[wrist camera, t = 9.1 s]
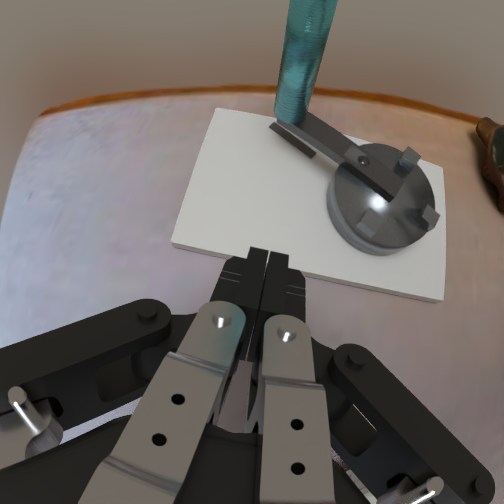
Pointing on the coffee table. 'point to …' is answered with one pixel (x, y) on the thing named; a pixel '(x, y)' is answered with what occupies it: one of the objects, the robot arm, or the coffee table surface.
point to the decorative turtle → (493, 155)
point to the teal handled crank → (351, 149)
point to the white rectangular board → (294, 210)
